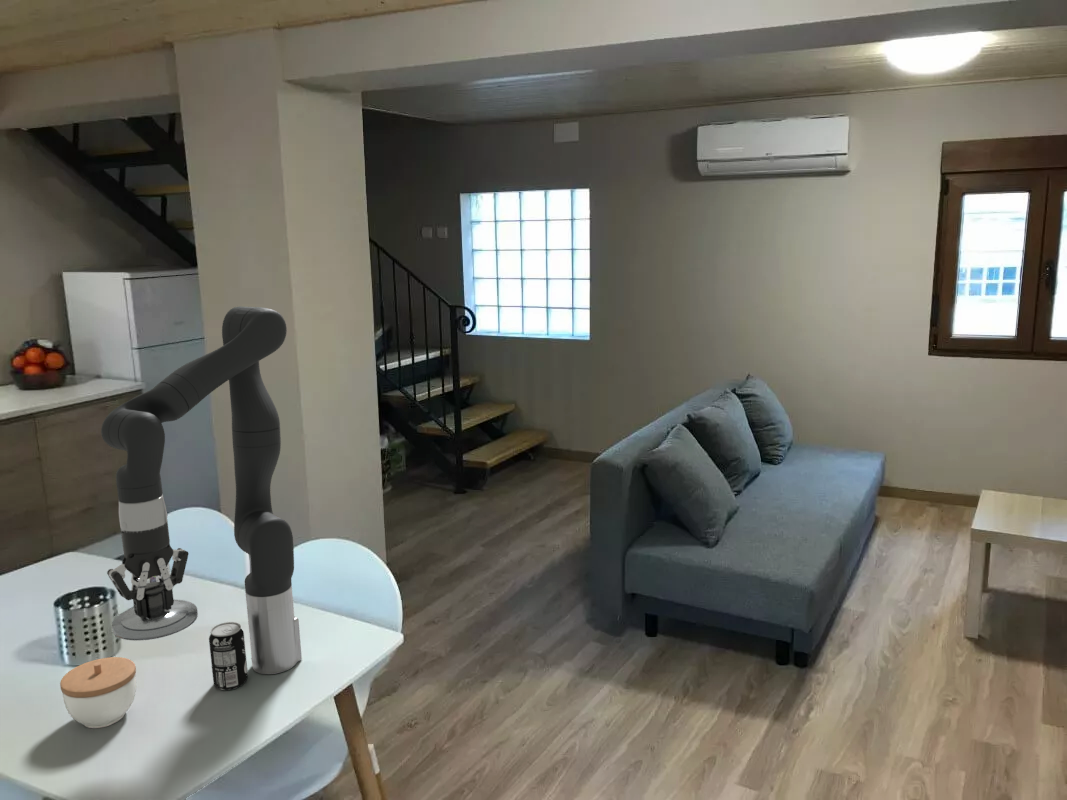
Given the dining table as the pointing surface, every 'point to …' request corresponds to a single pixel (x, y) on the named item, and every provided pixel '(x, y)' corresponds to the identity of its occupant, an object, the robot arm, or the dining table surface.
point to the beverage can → (228, 656)
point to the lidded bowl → (99, 691)
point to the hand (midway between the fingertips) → (154, 612)
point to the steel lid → (155, 617)
